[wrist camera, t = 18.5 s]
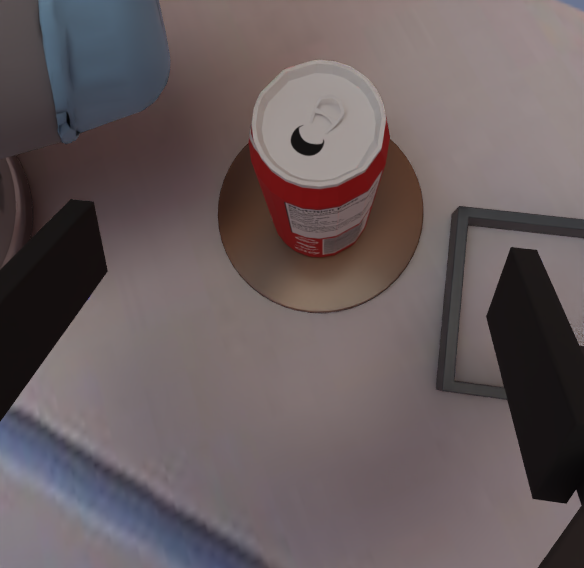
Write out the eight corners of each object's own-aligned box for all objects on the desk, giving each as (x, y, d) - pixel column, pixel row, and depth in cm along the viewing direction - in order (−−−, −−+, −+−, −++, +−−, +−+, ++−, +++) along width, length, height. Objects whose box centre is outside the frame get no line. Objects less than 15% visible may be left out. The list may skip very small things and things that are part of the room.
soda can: (310, 149, 31) (302, 20, 19) (386, 201, 30) (426, 100, 19) (254, 223, 31) (211, 136, 19) (330, 277, 30) (335, 223, 18)
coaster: (184, 256, 31) (181, 254, 31) (277, 86, 33) (276, 81, 32) (365, 349, 30) (366, 349, 29) (455, 168, 31) (458, 165, 31)
